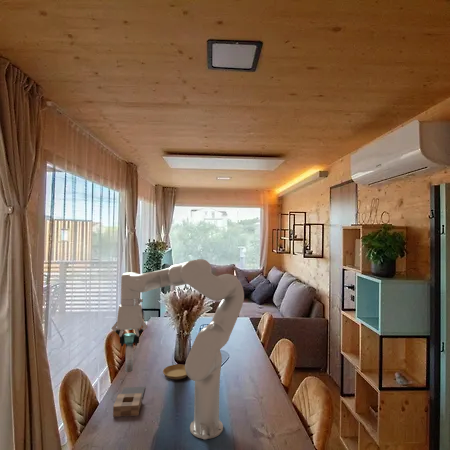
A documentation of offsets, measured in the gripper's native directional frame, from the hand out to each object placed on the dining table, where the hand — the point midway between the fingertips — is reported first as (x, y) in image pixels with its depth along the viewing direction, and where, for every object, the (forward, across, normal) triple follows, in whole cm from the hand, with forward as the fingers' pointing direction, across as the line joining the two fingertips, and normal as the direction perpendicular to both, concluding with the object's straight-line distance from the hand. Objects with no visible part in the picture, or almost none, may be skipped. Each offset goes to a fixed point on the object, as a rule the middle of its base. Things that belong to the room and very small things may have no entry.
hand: (129, 344), depth 136 cm
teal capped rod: (+11, 0, 0) cm, 11 cm away
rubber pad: (+27, 0, -13) cm, 30 cm away
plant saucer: (+28, -20, -31) cm, 46 cm away
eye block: (+27, 0, 0) cm, 27 cm away
